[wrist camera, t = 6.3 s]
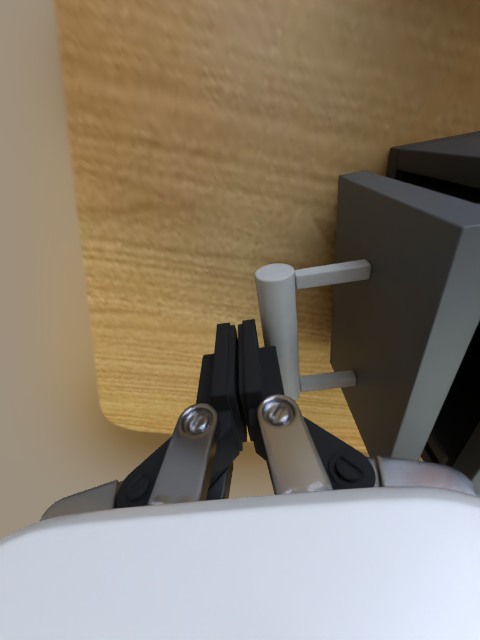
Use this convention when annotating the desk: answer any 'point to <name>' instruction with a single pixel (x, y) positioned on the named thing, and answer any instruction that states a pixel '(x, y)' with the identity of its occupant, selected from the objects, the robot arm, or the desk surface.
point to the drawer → (393, 314)
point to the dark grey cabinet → (462, 168)
